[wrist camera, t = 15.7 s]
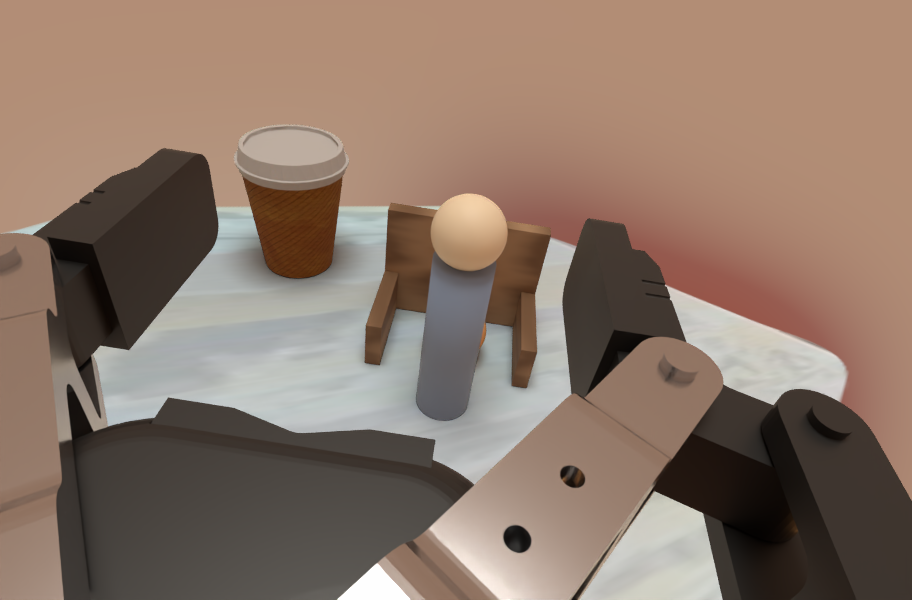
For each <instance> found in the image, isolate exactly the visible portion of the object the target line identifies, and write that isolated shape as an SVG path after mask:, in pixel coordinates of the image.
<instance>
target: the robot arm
mask: <svg viewBox="0 0 912 600" xmlns="http://www.w3.org/2000/svg"><path fill="white" fill-rule="evenodd" d="M217 234H218V217H217V211H216V205H215V199H214V193H213V187H212V181H211V175H210V169H209V165H208V162H207V160H206V158H205V157H204V156H203V155H201V154H197V153H191V152H185V151H178V150H172V149H166V148H164V149H161V150H159V151H158V152H157V153H155V154H154V155H153V156H151V157H150V158H149V159H147V160H146V161H145V162H144V163H142V164H141V165H140V166H138V167H137V168H134V169H131V170H128V171H125V172H122V173H120V174H117V175H114V176H112V177H110V178H109V179H107V180H106V181H105V182H103V183H102V184H101V185H99V186H98V187H96V188H95V189H94V192H93V193H92V192H90V193H89V194H87V195H86V196H84V197H83V198H82V199H80V202H79V203H75V204H74V205H72V206H71V207H70V208H68V209H67V210H66V211H64V212H63V213H61V214H60V215H59V216H57V217H56V218H55V219H53V220H52V221H51V222H49V223H48V224H47V225H45V226H44V227H43V228H41V229H40V230H38V231H37V232H36V233H34V234H33V235H29V234H21V233H7V234H0V600H579V599H580V598H581V597H582V595H583V594H584V592H585V591H586V589H587V588H588V586H589V585H590V583H591V582H592V581H593V579H594V578H595V576H596V575H597V573H598V572H599V570H600V569H601V567H602V566H603V564H604V563H605V561H606V560H607V559H608V557H609V556H610V554H611V553H612V552H613V550H614V549H615V547H616V546H617V544H618V543H619V542H620V540H621V539H622V537H623V536H624V535H625V533H626V532H627V530H628V529H629V527H630V526H631V525H632V523H633V522H634V520H635V519H636V518H637V516H638V515H639V513H640V512H641V511H642V509H643V508H644V506H645V505H646V503H647V502H648V501H649V499H650V498H651V496H652V495H653V494H654V492H655V491H656V492H658V493H660V494H662V495H664V496H667V497H669V498H671V499H673V500H675V501H678V502H680V503H682V504H684V505H686V506H689V507H691V508H693V509H695V510H697V511H700V512H702V513H703V514H704V519H705V523H706V528H707V532H708V536H709V541H710V545H711V550H712V554H713V559H714V563H715V567H716V572H717V576H718V581H719V585H720V589H721V594H722V598H723V600H912V501H911V499H910V497H909V495H908V494H907V492H906V490H905V488H904V487H903V485H902V483H901V481H900V480H899V478H898V476H897V474H896V472H895V471H894V469H893V467H892V465H891V464H890V462H889V460H888V458H887V457H886V455H885V453H884V451H883V450H882V448H881V446H880V444H879V443H878V441H877V439H876V438H875V435H874V434H873V433H872V431H871V429H870V428H869V427H868V425H867V424H866V423H865V422H864V421H863V420H862V419H861V418H860V417H859V416H858V415H857V414H856V413H854V412H853V411H852V410H851V409H849V408H848V407H846V406H845V405H843V404H842V403H840V402H838V401H837V400H835V399H833V398H831V397H829V396H827V395H824V394H821V393H818V392H815V391H811V390H805V389H794V390H789V391H787V392H785V393H784V394H782V395H781V396H780V398H779V399H778V400H777V402H776V403H775V404H774V405H771V404H769V403H766V402H763V401H761V400H758V399H756V398H753V397H751V396H748V395H746V394H743V393H740V392H738V391H736V390H733V389H731V388H729V387H727V386H725V385H723V377H722V374H721V371H720V370H719V368H718V366H717V365H716V364H715V363H714V361H713V360H712V359H711V358H710V357H709V356H708V355H706V354H705V353H704V352H703V351H701V350H699V349H698V348H696V347H695V346H693V345H691V344H689V343H687V342H686V340H685V337H684V334H683V331H682V328H681V326H680V323H679V320H678V317H677V315H676V312H675V309H674V306H673V303H672V301H671V300H670V295H669V292H668V289H667V287H665V281H664V278H663V276H662V273H661V270H660V267H659V266H658V265H657V264H656V263H655V262H654V261H653V260H652V259H651V258H650V257H649V255H648V254H647V253H646V252H645V251H641V250H634V249H632V247H631V244H630V241H629V238H628V234H627V231H626V228H625V225H624V224H620V223H614V222H608V221H602V220H596V219H590V218H589V219H587V220H586V222H585V224H584V226H583V229H582V232H581V235H580V238H579V241H578V244H577V247H576V250H575V253H574V256H573V259H572V262H571V265H570V269H569V272H568V275H567V278H566V282H565V286H564V292H563V315H564V325H565V335H566V345H567V354H568V364H569V374H570V384H571V393H572V395H570V396H569V397H568V398H566V399H565V400H564V401H563V402H562V403H561V404H560V405H559V406H558V407H557V408H556V409H555V410H554V411H552V412H551V413H550V414H549V415H548V416H547V417H546V418H545V419H544V420H543V421H542V422H541V423H540V424H539V425H538V426H537V427H536V428H534V429H533V430H532V431H531V432H530V433H529V434H528V435H527V436H526V437H525V438H524V439H523V440H522V441H521V442H520V443H519V444H517V445H516V446H515V447H514V448H513V449H512V450H511V451H510V452H509V453H508V454H507V455H506V456H505V457H504V458H503V459H502V460H500V461H499V462H498V463H497V464H496V465H495V466H494V467H493V468H492V469H491V470H490V471H489V472H488V473H487V474H486V475H485V476H484V477H482V478H481V479H480V480H479V481H478V482H477V483H476V484H475V485H474V484H473V483H472V482H471V481H469V480H468V479H466V478H465V477H464V476H462V475H461V474H459V473H458V472H456V471H454V470H453V469H451V468H449V467H447V466H445V465H443V464H441V463H439V462H436V461H434V460H432V459H433V452H434V445H435V440H433V439H427V438H420V437H414V436H408V435H401V434H395V433H389V432H382V431H376V430H353V431H335V432H318V433H295V432H291V431H288V430H286V429H284V428H281V427H279V426H276V425H274V424H271V423H269V422H267V421H264V420H262V419H259V418H257V417H255V416H252V415H250V414H247V413H245V412H242V411H240V410H238V409H235V408H231V407H224V406H218V405H212V404H205V403H199V402H193V401H186V400H180V399H174V398H168V399H167V400H166V402H165V403H164V405H163V406H162V408H161V409H160V411H159V412H158V414H157V415H156V417H155V418H149V419H142V420H135V421H129V422H124V423H120V424H116V425H112V426H109V427H108V423H107V417H106V412H105V406H104V400H103V394H102V389H101V383H100V377H99V372H98V366H97V363H96V361H95V358H94V356H93V353H94V352H95V351H96V350H97V348H98V347H99V346H100V345H101V346H107V347H113V348H120V349H126V350H129V349H130V348H131V347H132V346H133V345H134V343H135V342H136V341H137V340H138V339H139V337H140V336H141V335H142V334H143V332H144V331H145V330H146V329H147V328H148V326H149V325H150V324H151V323H152V321H153V320H154V319H155V318H156V317H157V315H158V314H159V313H160V312H161V310H162V309H163V308H164V307H165V306H166V304H167V303H168V302H169V301H170V299H171V298H172V297H173V296H174V295H175V293H176V292H177V291H178V290H179V288H180V287H181V286H182V285H183V284H184V282H185V281H186V280H187V279H188V277H189V276H190V275H191V274H192V273H193V271H194V270H195V269H196V268H197V266H198V265H199V264H200V263H201V262H202V260H203V259H204V258H205V257H206V255H207V254H208V253H209V252H210V251H211V249H212V248H213V246H214V244H215V242H216V239H217Z"/></svg>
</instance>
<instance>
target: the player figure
mask: <svg viewBox="0 0 912 600" xmlns="http://www.w3.org/2000/svg"><path fill="white" fill-rule="evenodd" d="M507 235H508V229H507V223H506V220H505V217H504V215H503V213H502V211H501V210H500V209H499V207H498V206H497V205H496V204H495V203H494V202H493V201H491V200H489V199H488V198H486V197H484V196H481V195H477V194H462V195H458V196H455V197H453V198H451V199H449V200H448V201H446V202H445V203H444V204H443V205H442V206H441V207H440V208H439V209H438V211H437V212H436V214H435V216H434V218H433V221H432V225H431V240H432V244H433V247H434V249H435V252H434V254H433V259H432V267H431V276H430V284H429V293H428V301H427V310H426V318H425V327H424V335H423V344H422V352H421V361H420V370H419V378H418V387H417V395H416V402H417V405H418V407H419V409H420V410H421V411H422V412H423V413H424V414H425V415H427V416H428V417H430V418H433V419H436V420H452V419H455V418H457V417H459V416H461V415H462V414H463V413H464V412H465V410H466V408H467V405H468V401H469V396H470V391H471V386H472V381H473V376H474V372H475V367H476V362H477V357H478V352H479V347H480V343H481V338H482V333H483V328H484V323H485V318H486V314H487V309H488V304H489V299H490V294H491V289H492V285H493V280H494V275H495V270H496V260H497V259H498V257H499V256H500V255H501V253H502V252H503V250H504V248H505V245H506V242H507Z"/></svg>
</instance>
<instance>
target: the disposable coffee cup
mask: <svg viewBox="0 0 912 600" xmlns="http://www.w3.org/2000/svg"><path fill="white" fill-rule="evenodd" d="M234 161H235V165H236V167H237V168H238V169H239V171H240V173H241V174H242V176H243V180H244V183H245V187H246V191H247V194H248V198H249V202H250V206H251V209H252V213H253V217H254V220H255V224H256V228H257V231H258V235H259V239H260V242H261V246H262V250H263V253H264V257H265V261H266V264H267V266H268V267H269V269H271V270H272V271H273V272H275V273H276V274H279V275H282V276H285V277H291V278H305V277H311V276H315V275H317V274H319V273H322V272H323V271H325V270H326V269H327V268H329V266H330V265H331V263H332V256H333V248H334V240H335V233H336V225H337V217H338V210H339V201H340V193H341V186H342V177H343V175H344V173H345V170H346V168H347V166H348V163H349V160H348V156H347V154H346V153H345V152H344V148H343V145H342V142H341V140H340V139H339V138H338V137H337V136H335V135H334V134H332V133H329V132H327V131H325V130H321V129H318V128H314V127H310V126H303V125H273V126H267V127H261V128H258V129H255V130H252V131H250V132H248V133H246V134H244V135H243V136H242V137H241V139H240V140H239V143H238V150H237V152H236V153H235V155H234Z"/></svg>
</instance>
